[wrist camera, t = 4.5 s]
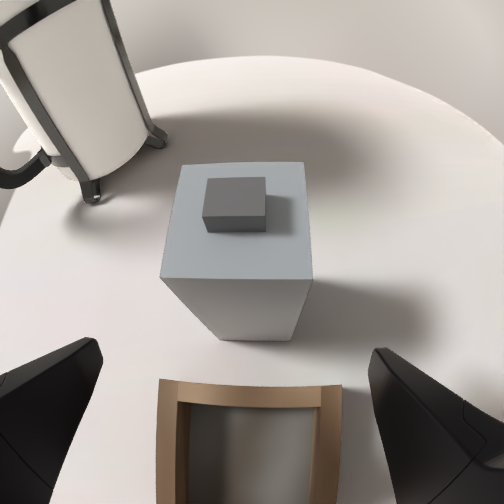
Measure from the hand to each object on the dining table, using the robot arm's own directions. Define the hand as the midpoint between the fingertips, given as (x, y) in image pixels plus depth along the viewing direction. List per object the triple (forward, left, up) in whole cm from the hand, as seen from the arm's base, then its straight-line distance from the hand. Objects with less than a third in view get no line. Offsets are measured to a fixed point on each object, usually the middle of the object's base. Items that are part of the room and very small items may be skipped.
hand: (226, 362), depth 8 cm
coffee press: (+18, -21, -12) cm, 30 cm away
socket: (0, +6, -12) cm, 13 cm away
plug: (0, -5, -12) cm, 13 cm away
